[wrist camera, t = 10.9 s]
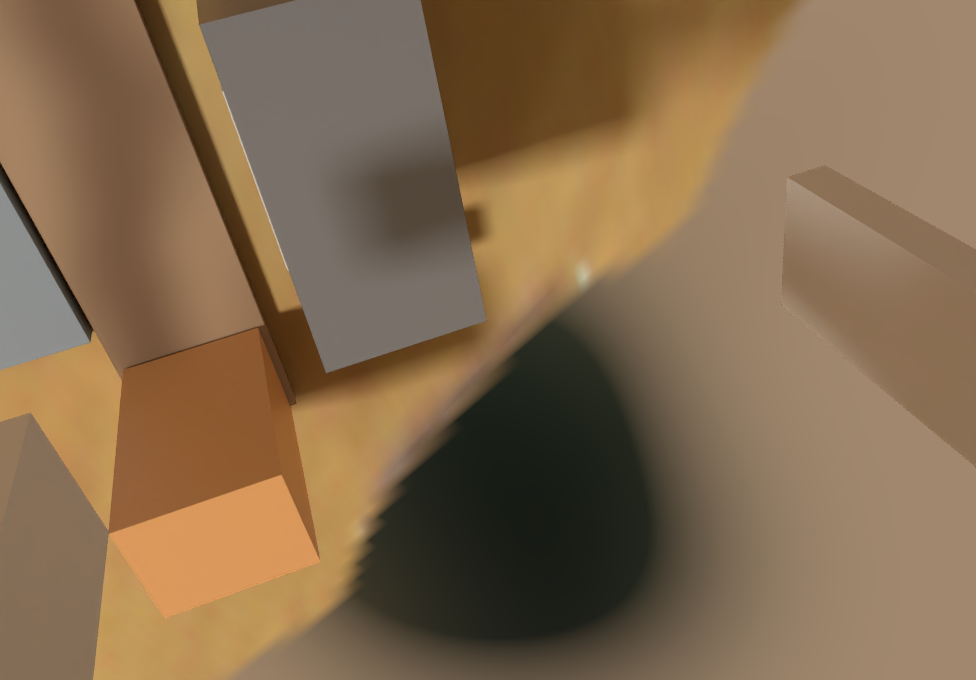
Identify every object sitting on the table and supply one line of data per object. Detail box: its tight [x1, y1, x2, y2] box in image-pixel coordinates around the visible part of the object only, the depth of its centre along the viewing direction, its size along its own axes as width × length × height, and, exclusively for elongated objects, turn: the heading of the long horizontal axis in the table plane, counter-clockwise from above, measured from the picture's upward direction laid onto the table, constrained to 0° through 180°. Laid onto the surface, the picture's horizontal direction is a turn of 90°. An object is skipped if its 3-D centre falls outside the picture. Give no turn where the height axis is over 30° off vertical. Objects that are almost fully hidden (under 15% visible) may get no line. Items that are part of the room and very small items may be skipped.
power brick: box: [197, 0, 487, 373], centre depth 23 cm, size 5×9×10 cm, turn 10°
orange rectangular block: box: [109, 328, 320, 618], centre depth 28 cm, size 5×4×8 cm
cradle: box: [0, 0, 296, 406], centre depth 26 cm, size 12×23×3 cm, turn 10°
